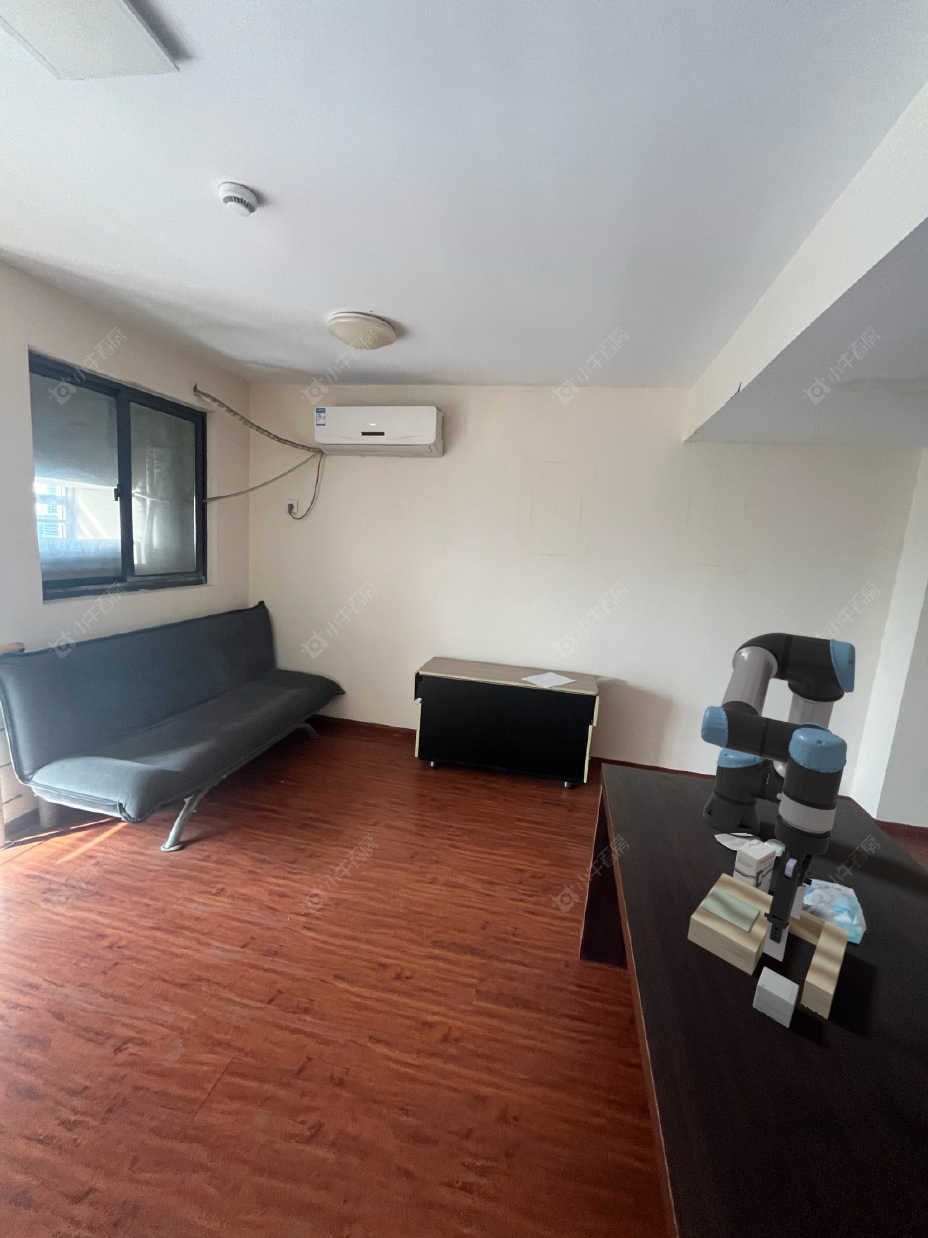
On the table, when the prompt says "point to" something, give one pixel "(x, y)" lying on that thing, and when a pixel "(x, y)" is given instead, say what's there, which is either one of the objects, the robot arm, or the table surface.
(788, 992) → the small box
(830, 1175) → the table surface
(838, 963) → the board
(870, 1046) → the table surface
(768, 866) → the ink box
